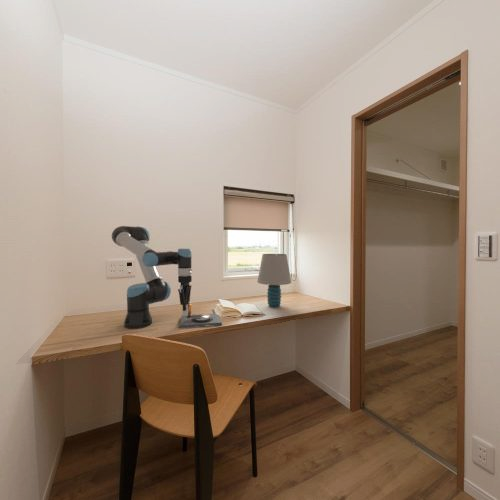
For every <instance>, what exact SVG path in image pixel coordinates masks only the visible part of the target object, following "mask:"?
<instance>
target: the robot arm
mask: <svg viewBox="0 0 500 500" xmlns="http://www.w3.org/2000/svg"><path fill="white" fill-rule="evenodd" d="M150 236H151V235H150V232H149V231H148V229H147V228H145V227H142V226H129V225H128V226H127V225H121V226H118V227H116V228H114V229H113V231H112V233H111V239H112V241H113V242H114V243H115V244H116V245H117V246H118V247H122V248H125V249H126V250H127V251H129V252H131V253H132V254H134V255H135V256H136V259H137V262H138V264H139V267H140V270H141V272H142V275H143V279H144V281H145V282H141V283H135V284H131V285H129V286H128V287H127V291H126V305H127V306H126V308H127V309H126V310H127V312H126V315H125V317H124V318H125V319H124V321H123V322H124V323H123V326H124V328H127V329H141V328H146V327H148V326H150V325H151V324H153V318H152V315H151V312H150V305H152V304H155V303H161V302H164V301H167V300H168V299H169V298H170V296H171V289H172V288H171V285H170V284H169V282H167V281H164V278H163V277H162V276H160V275H159V273H158V270H157V267H158V266H159V267H160V266H169V265H177V275H178V276H177V278H178V279H177V282H178V283H180V286H179V287H180V288H178V289H177V291H178V294H179V295H178V296H179V303H180V305H181V307H182V315H183V316H188V304H191V302H190V301H191V292H192V291H191V290H192V285H190V283H191V282H192V280H193V279H192V272H193V269H192V257H193V256H192V255H193V254H192V250H191V248H178V249H177V251H171V250H170V251H162V252H161V251H155V250H154V249H152V248H150V247H149V246H148V245H149V241H150V239H151V238H150Z"/></svg>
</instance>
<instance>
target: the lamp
mask: <svg viewBox="0 0 500 500" xmlns="http://www.w3.org/2000/svg"><path fill="white" fill-rule="evenodd" d="M289 267H290V266H289V261H288V256H287V254H286V253H263V254H262V256H261V259H260V266H259V271H258V276H257V283H258V284H261V285H267V293H266V294H267V296H266V297H267V304H268V307H269V308H280V306H281V302H282V292H281V291H282V288H281V286H285V285H289V284H292V278H291V273H290V268H289Z"/></svg>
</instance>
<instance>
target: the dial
mask: <svg viewBox="0 0 500 500" xmlns="http://www.w3.org/2000/svg"><path fill="white" fill-rule="evenodd" d="M209 314H210V313H196V314H192V303H190V304H188V316H186V317H187V318H191V317H194V320H195V321H208V320H210V319H211V316H210V315H209Z"/></svg>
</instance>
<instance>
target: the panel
mask: <svg viewBox="0 0 500 500" xmlns="http://www.w3.org/2000/svg"><path fill="white" fill-rule="evenodd" d="M208 314H209V315H210V316H211V319H210V320H208V321H195V320H194V317H191V318H187V317H186V316H183V314H182V315H180V321H179V325H178V326H179V329H185V328H187V327H188V328H197V327H196V326H202V327H206V326H205V325H216V326H222V325H223V321H222V319H221V318H222V317H221V315H220V314H219V315H220V316H219V315H217V314H216V312H215V313H208Z"/></svg>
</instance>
